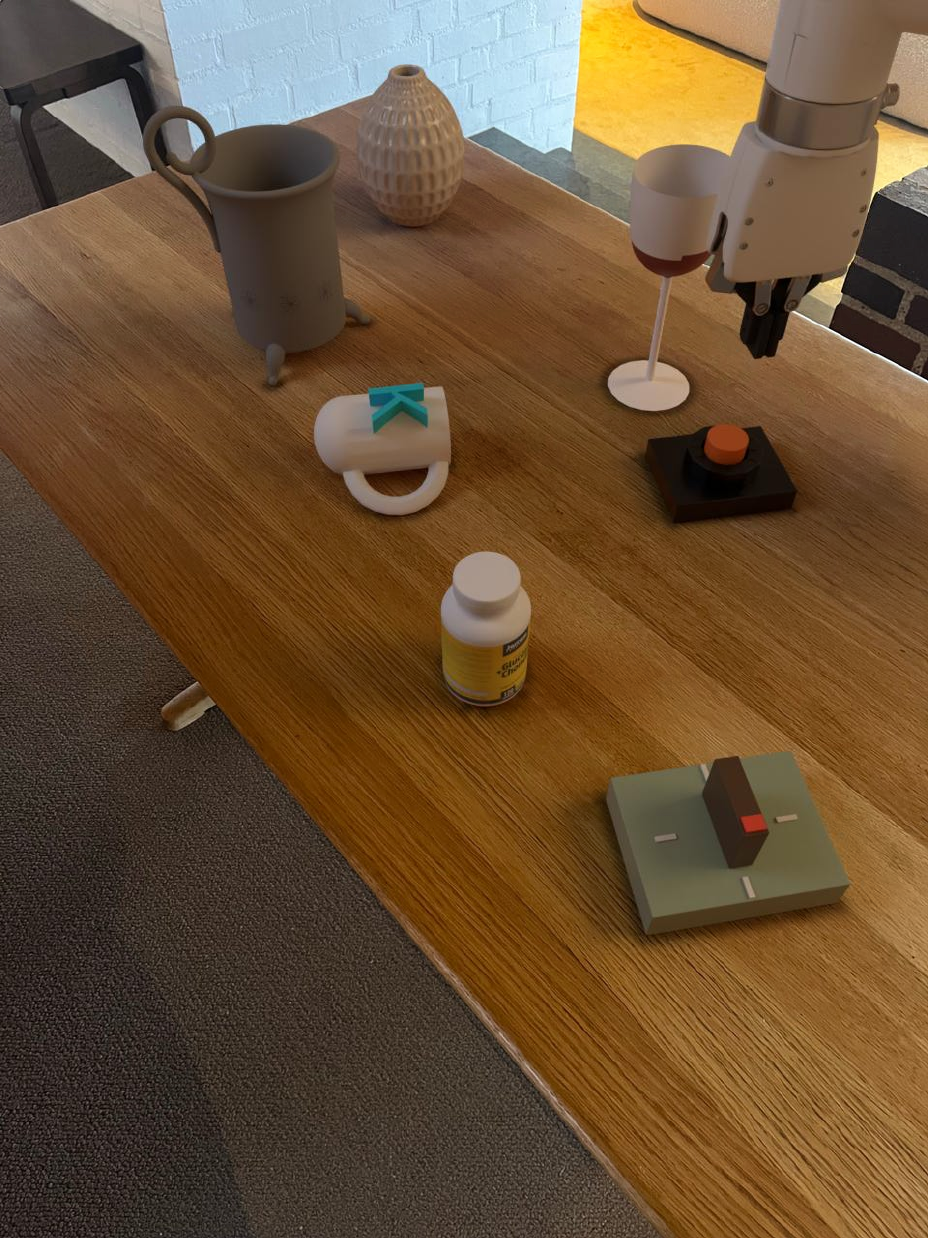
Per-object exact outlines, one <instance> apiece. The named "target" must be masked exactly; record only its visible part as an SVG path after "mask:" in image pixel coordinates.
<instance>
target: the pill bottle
mask: <svg viewBox="0 0 928 1238" xmlns="http://www.w3.org/2000/svg"><path fill="white" fill-rule="evenodd" d="M521 578H522V577H521V572H520V569H519V567H518V565H517V564H516V563H515V561H513V560H512V559H511V558H509V556H506V555H504V554H502V553H499V552H494V551H478V552H474V553H471V554H469V555H467V556H465V557H463V558H462V559H461V560H459V562H458V563H457V564H456V565H455V567H454V570H453V573H452V584H451V585H450V586H449V587H448V589H447V590H446V591H445V593H444V595H443V597H442V600H441V605H440V633H441V637H440V638H441V657H442V658H441V659H442V661H441V662H442V675H443V679H444V682H445V685H446V687H447V688H448V690H449V691H450V693H452V695H454V696H455V697H456V698H457V699H459V700H460V701H462V702H464V703H466V704H469V705H472V706H477V707H493V706H498V705H501V704H503V703H506V702H508V701H510V700H511V699H513V698H514V697H515V696H516V695H517V694H518V693H519V691H521V689H522V688H523V686H524V683H525V680H526V676H527V667H528V656H529V642H530V629H531V618H532V617H531V616H532V605H531V600H530V598H529V595H528V593H527V592H526V590H525V589H524V587H522V585H521V580H522V579H521Z"/></svg>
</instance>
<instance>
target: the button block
mask: <svg viewBox="0 0 928 1238" xmlns="http://www.w3.org/2000/svg"><path fill="white" fill-rule="evenodd" d="M717 425H718V424H716V425H708V426H704V427H701V428H700V429H698V430H696V431H695V432H694V433H689V434H680V435H672V436H664V437H656V438H654V437H653V438H648V439H647V444H646V449H645V454H644V458H645V461H646V462H647V463H646V464H647V465H648V467H649V470H650V471H651V474H652V477H653V480H654V481H655V484H656V486H657V488H658V490H659V492H660V495H661V497H662V500H663V503H664V504H665V506H666V509H667V511H668V514H669V516H670V518H671V520H672V523H673V524H678V523H687V522H694V521H702V520H710V519H719V518H726V517H733V516H735V517H736V516H741V515H742V516H743V515H751V514H759V513H766V512H774V511H782V510H791V509H792V507H793V504H794V502H795V499H796V496H797V493H798V488H797V487H796V486H795V484H794V482H793V480H792V479H791V477H790V475H789V474H788V471H787V470H786V468H785V466H784V465H783V463H782V461H781V459H780V458H779V456H778V454H777V451H775V448H774V447H773V444H772V443H771V442H770V440H769V438H768V436H767V434H766V432H765V430H764V429H763V427H762V426H761V425H759V426H758V425H757V426H751V427H750V426H749V427H740V428H741V429H742V430H744V431H745V432H746V434H747V435H748V438H749V443H748V446H747V450H746V453H745V456H744V459H743V460H742V461H741V462H740V463H738V464H733V465H724V464H720V463H715V462H713V461H712V460H710V459H709V458H707V457H706V455H705V453H704V446H705V442H706V438H707V434H708V431H709V430H710V429H711V428H712V427H714V426H717Z"/></svg>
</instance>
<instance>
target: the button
mask: <svg viewBox="0 0 928 1238" xmlns="http://www.w3.org/2000/svg"><path fill="white" fill-rule="evenodd" d="M716 425H717V426H716ZM716 425H713V426H714V427H712V428H711V429H710V430H709V431H708V434H707V438H706V442H705V446H704V453H705V455H706V457H707V458H709V459H710V460H712V461H713V462H715V463H720V464H724V465H733V464H738V463H740V462H741V461H742V460H743V459H744V456H745V453H746V450H747V446H748V443H749V438H748V435H747V434H746V432H745V431H744V430H742V429H741V428H742V427H740V426H736V425H733V424H727V423H723V424H722V423H721V424H716Z"/></svg>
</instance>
